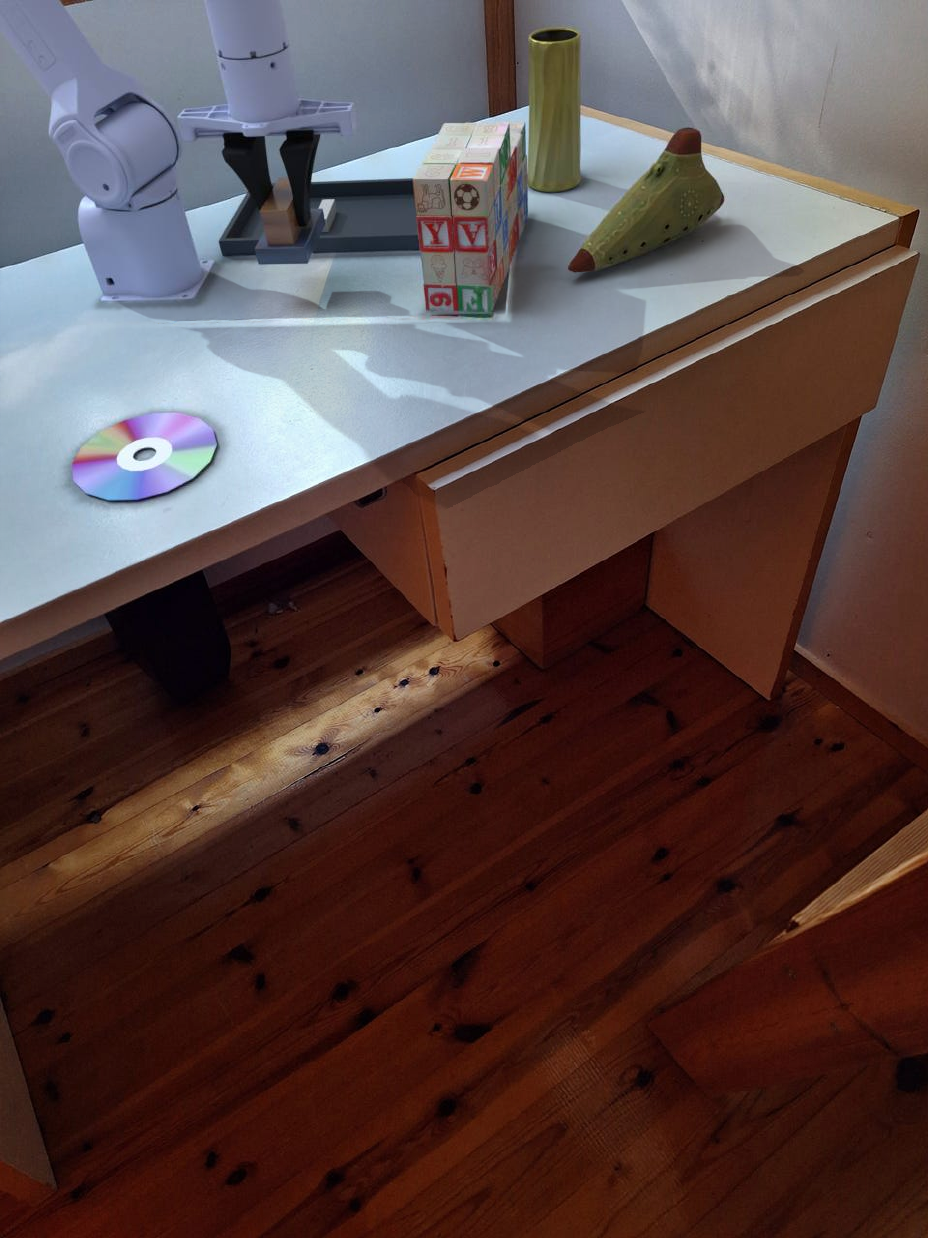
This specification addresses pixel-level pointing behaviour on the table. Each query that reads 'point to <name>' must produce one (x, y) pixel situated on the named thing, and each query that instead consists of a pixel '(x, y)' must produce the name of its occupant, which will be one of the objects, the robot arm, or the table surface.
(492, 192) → the stack of blocks
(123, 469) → the cd
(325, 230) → the chalk
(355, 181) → the tray
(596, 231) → the ocarina
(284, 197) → the eraser
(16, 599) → the table surface
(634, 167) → the table surface
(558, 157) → the vase
